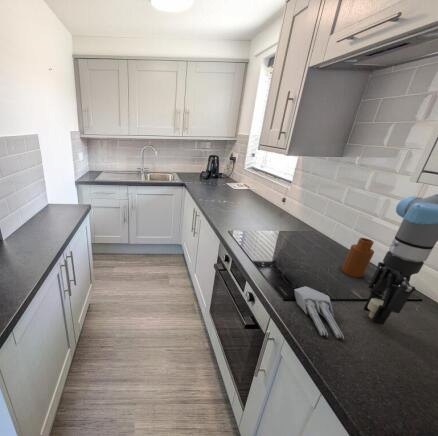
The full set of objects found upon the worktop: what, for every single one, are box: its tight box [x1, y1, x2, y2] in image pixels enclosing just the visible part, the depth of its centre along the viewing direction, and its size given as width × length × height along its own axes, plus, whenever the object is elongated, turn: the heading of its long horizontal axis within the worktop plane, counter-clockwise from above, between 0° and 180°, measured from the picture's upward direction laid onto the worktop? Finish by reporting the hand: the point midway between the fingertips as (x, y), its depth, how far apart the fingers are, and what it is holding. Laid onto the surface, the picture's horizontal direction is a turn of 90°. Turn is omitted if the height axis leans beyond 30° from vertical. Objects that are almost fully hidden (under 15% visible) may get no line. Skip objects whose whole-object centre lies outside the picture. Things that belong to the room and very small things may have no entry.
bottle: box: [341, 237, 375, 278], centre depth 98 cm, size 7×7×16 cm
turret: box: [293, 285, 345, 340], centre depth 77 cm, size 10×20×5 cm, turn 170°
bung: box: [368, 298, 384, 320], centre depth 74 cm, size 5×5×6 cm
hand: (372, 316), depth 76 cm, fingers closed on bung, 5 cm apart
